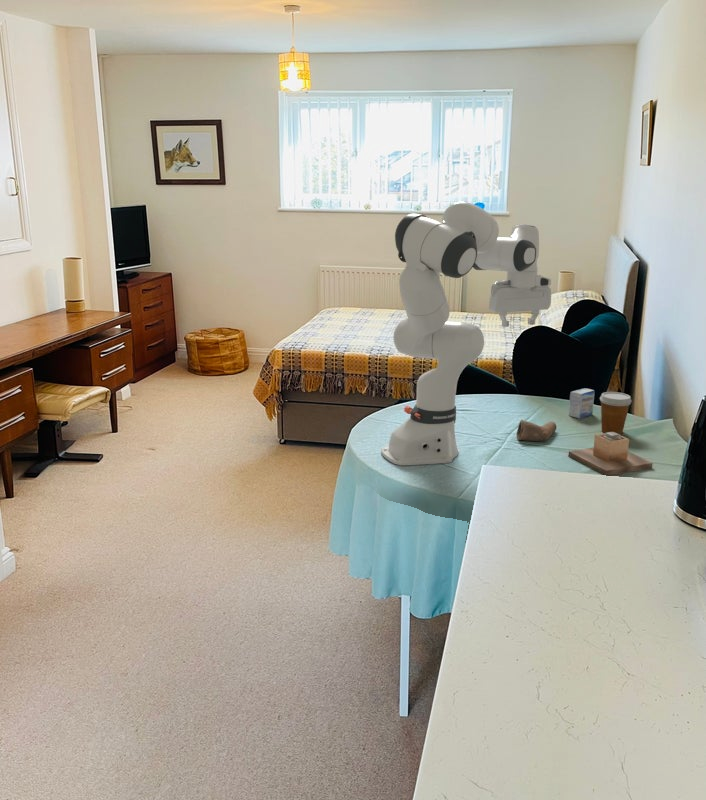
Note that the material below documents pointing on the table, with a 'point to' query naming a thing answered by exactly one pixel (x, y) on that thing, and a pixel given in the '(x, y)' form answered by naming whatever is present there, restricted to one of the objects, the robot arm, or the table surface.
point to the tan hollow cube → (610, 448)
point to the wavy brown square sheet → (610, 468)
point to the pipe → (535, 431)
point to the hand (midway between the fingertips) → (518, 325)
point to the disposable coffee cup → (614, 411)
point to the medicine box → (581, 403)
